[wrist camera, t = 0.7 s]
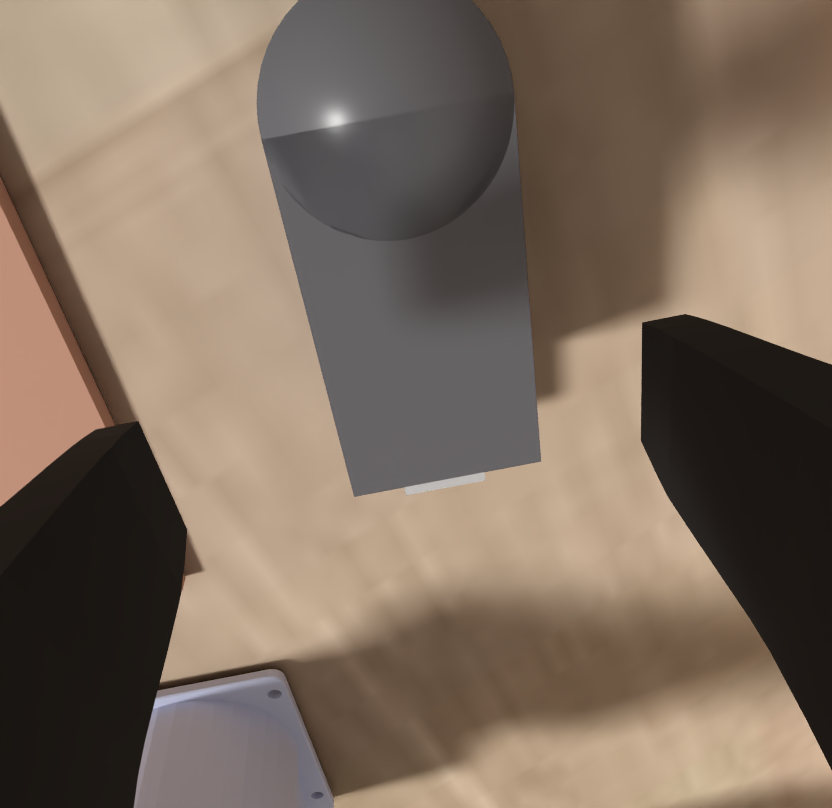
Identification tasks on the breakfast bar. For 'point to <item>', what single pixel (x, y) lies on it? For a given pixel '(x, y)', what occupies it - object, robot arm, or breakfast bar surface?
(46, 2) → the breakfast bar surface
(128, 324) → the breakfast bar surface
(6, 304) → the rubber mat
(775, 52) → the breakfast bar surface
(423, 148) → the grey round-top block
